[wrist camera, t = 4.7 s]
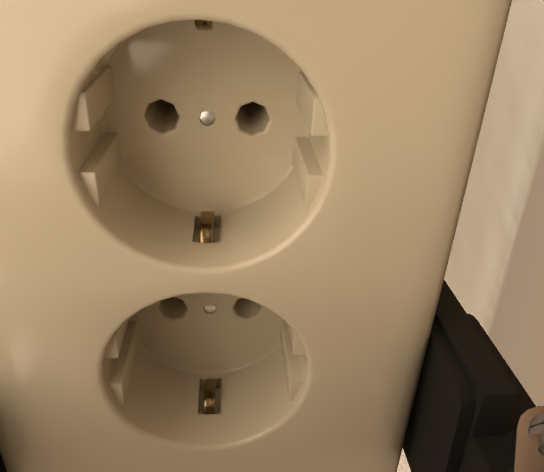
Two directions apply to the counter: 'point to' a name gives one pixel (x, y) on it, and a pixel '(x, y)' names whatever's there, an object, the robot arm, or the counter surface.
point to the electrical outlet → (228, 225)
